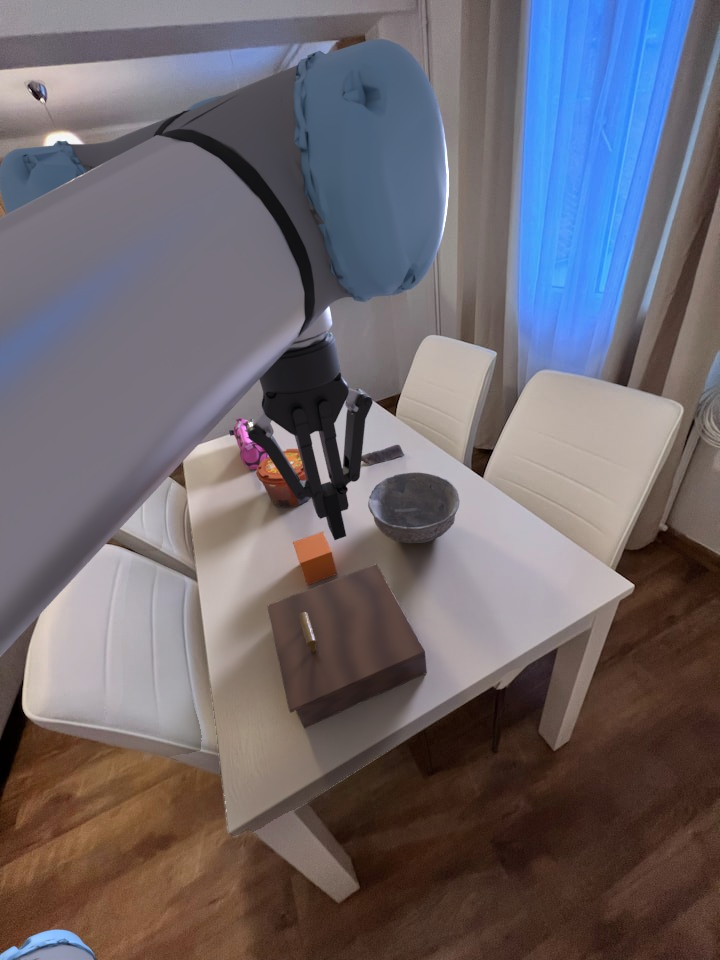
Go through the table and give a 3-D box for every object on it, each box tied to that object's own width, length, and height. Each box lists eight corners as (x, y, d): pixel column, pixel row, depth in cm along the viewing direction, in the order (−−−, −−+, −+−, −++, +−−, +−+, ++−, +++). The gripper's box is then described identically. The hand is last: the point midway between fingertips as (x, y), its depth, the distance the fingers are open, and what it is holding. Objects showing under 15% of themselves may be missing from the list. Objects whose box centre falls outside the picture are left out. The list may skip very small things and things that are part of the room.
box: (304, 728, 64) (295, 711, 60) (280, 624, 80) (272, 606, 77) (426, 673, 68) (425, 654, 65) (380, 585, 85) (377, 566, 81)
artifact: (404, 455, 123) (403, 449, 122) (362, 467, 121) (361, 461, 120) (400, 450, 126) (399, 443, 125) (358, 461, 124) (357, 455, 123)
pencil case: (234, 446, 144) (224, 421, 138) (260, 437, 146) (252, 412, 140) (245, 474, 127) (235, 448, 121) (274, 464, 130) (265, 437, 124)
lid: (290, 713, 60) (283, 699, 58) (268, 607, 77) (261, 593, 74) (425, 653, 65) (424, 639, 62) (377, 566, 81) (374, 551, 79)
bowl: (478, 535, 92) (480, 501, 86) (404, 576, 86) (400, 543, 80) (424, 491, 108) (422, 461, 102) (358, 524, 101) (352, 493, 95)
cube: (307, 585, 87) (299, 563, 83) (299, 563, 93) (292, 542, 89) (337, 573, 89) (331, 551, 85) (328, 553, 94) (322, 531, 90)
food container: (325, 475, 121) (317, 445, 114) (315, 510, 108) (306, 478, 102) (274, 478, 123) (264, 448, 117) (259, 513, 110) (247, 481, 104)
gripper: (347, 312, 40) (374, 497, 53) (215, 344, 37) (280, 530, 51) (375, 329, 34) (398, 532, 48) (220, 368, 31) (292, 571, 45)
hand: (337, 531), depth 49 cm, fingers closed
